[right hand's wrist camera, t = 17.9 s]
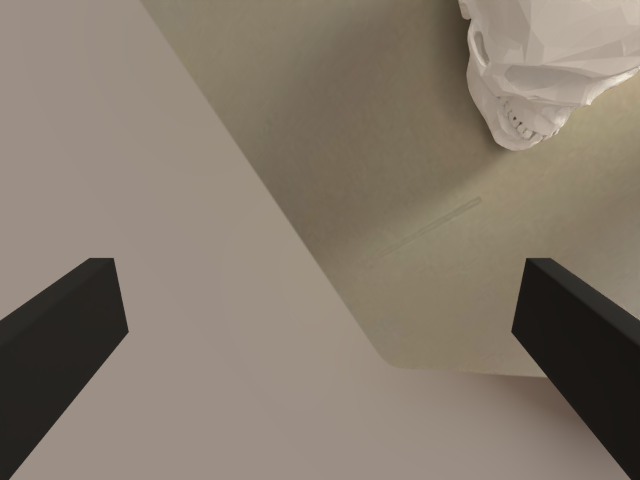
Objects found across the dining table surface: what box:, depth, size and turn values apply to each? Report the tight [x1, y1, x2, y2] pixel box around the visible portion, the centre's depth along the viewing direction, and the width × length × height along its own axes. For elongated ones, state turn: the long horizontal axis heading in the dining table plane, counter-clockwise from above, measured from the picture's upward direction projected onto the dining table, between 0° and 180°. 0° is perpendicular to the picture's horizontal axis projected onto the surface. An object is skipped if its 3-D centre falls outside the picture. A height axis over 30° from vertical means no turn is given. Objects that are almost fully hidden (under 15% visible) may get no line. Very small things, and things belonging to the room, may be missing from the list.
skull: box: [458, 0, 640, 151], centre depth 28 cm, size 13×22×16 cm, turn 10°
